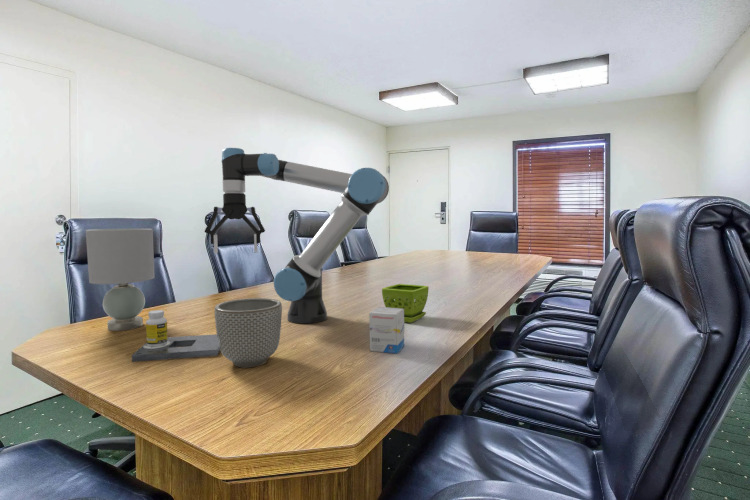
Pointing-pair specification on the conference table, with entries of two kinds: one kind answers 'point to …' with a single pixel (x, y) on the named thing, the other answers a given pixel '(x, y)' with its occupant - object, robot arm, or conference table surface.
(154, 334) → the supplement bottle
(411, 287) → the flower pot
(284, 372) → the conference table surface
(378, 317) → the ink box
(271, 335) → the planter
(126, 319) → the lamp
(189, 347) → the housing plate
